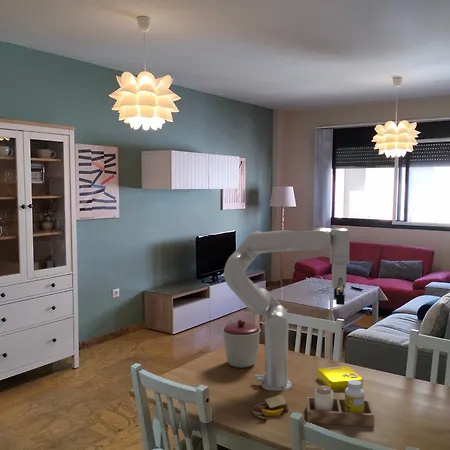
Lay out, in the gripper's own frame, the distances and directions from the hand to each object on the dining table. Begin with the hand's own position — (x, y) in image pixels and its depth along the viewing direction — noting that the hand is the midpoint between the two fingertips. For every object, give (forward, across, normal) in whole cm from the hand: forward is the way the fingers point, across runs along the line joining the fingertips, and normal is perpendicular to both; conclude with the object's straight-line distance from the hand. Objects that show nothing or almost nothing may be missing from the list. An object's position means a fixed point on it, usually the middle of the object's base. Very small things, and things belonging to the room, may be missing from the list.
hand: (339, 301), depth 195 cm
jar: (+36, +26, -7) cm, 44 cm away
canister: (+36, -23, -42) cm, 60 cm away
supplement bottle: (+36, +25, +3) cm, 44 cm away
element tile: (+37, -7, +1) cm, 38 cm away
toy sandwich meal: (+37, +24, -27) cm, 51 cm away
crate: (+36, +26, -2) cm, 44 cm away
